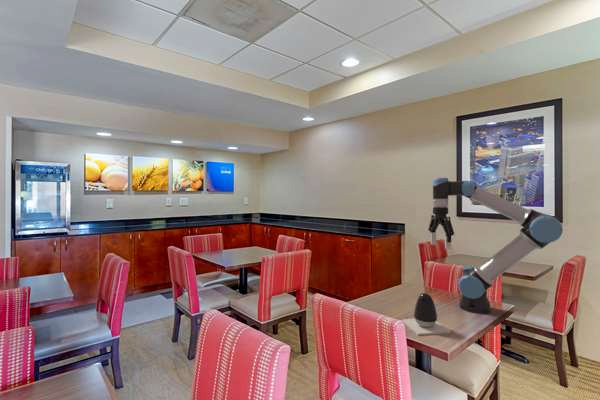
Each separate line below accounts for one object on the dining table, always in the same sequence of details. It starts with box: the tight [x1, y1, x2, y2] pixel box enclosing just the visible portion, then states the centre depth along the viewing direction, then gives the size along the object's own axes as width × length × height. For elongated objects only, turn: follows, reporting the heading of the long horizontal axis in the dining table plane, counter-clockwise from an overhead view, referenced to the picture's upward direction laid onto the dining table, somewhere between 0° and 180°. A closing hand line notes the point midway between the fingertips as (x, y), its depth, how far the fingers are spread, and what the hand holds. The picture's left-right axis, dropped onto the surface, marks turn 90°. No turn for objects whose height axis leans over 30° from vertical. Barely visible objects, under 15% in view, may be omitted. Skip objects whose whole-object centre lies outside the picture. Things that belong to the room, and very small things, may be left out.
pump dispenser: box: [413, 292, 438, 327], centre depth 150 cm, size 10×10×15 cm
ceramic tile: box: [401, 318, 452, 336], centre depth 151 cm, size 16×16×1 cm
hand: (440, 246), depth 170 cm, fingers open, 13 cm apart
